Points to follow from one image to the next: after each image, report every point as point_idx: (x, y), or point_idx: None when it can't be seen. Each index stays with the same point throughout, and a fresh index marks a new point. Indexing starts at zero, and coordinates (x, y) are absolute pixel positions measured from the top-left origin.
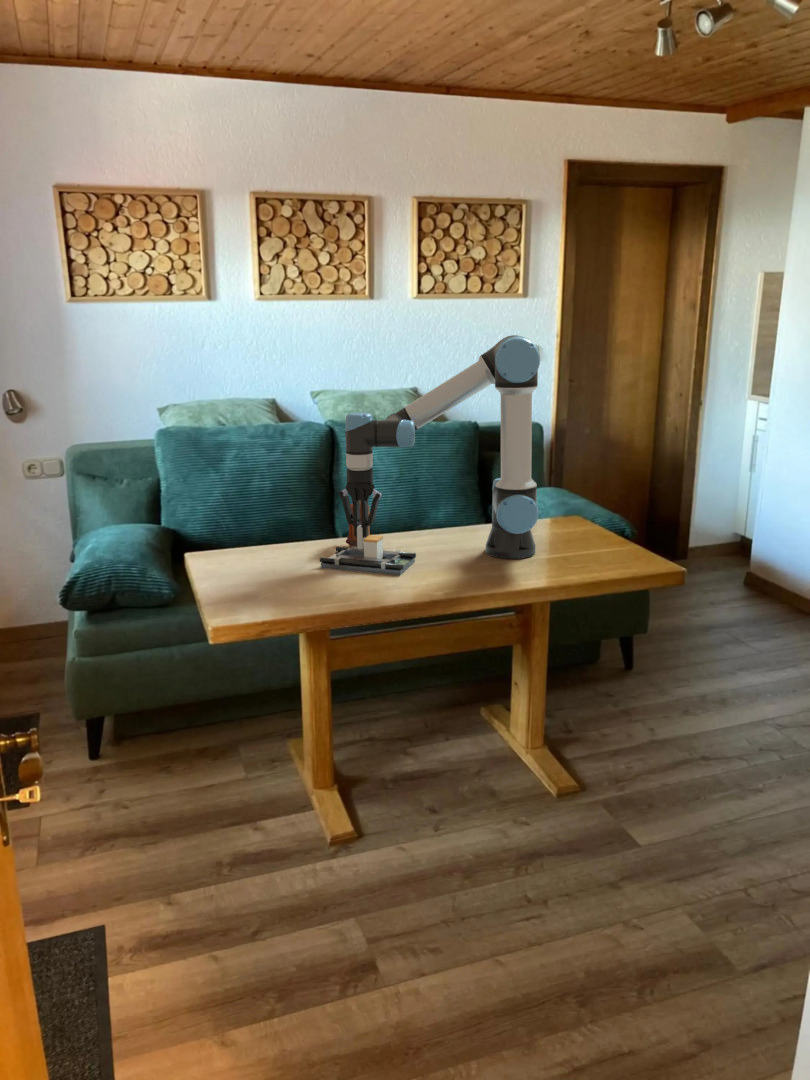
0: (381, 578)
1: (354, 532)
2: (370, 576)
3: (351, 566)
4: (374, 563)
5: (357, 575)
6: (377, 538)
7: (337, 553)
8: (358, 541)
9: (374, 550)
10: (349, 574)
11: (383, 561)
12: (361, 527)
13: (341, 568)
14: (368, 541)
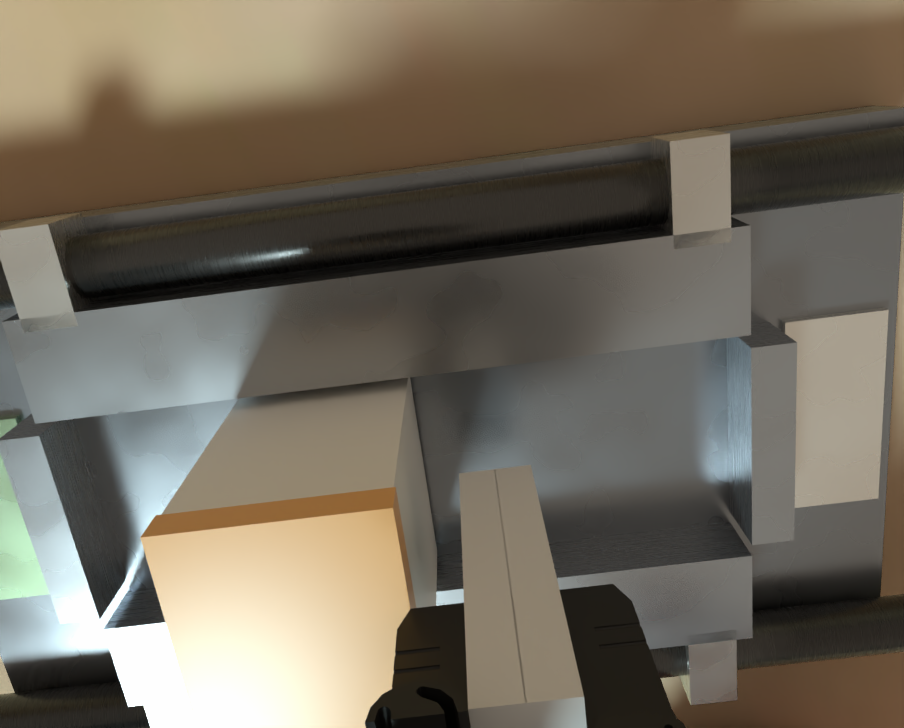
0: (5, 49)
1: (635, 634)
2: (165, 65)
3: (476, 164)
4: (164, 237)
5: (326, 33)
6: (201, 634)
7: (852, 536)
8: (521, 523)
9: (239, 452)
10: (435, 27)
11: (72, 317)
12: (472, 709)
13: (606, 142)
14: (306, 504)
